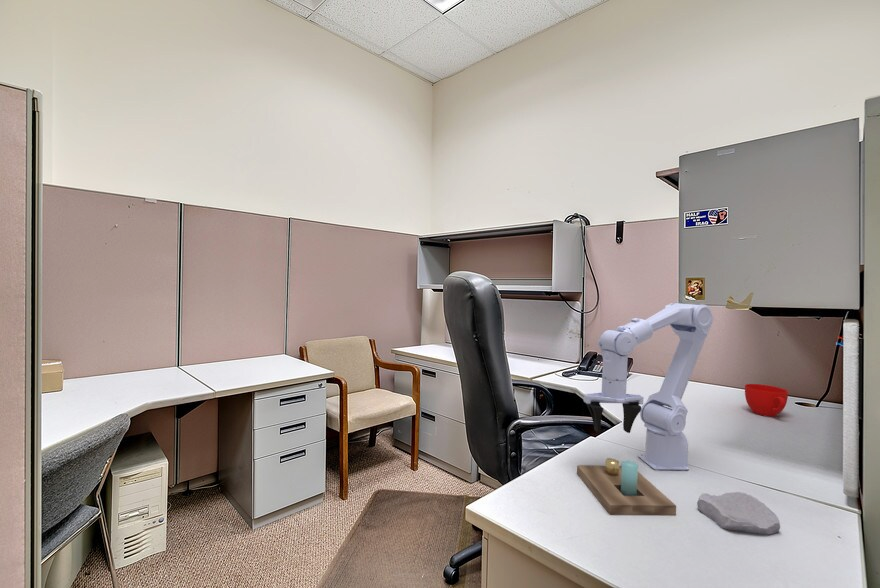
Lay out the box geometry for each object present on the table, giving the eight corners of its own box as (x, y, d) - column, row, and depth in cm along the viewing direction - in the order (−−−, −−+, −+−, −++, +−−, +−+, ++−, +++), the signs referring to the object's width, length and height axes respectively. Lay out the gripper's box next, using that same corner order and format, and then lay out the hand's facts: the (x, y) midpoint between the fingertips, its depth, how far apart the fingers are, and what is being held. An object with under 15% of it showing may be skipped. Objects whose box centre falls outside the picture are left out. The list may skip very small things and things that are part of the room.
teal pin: (631, 495, 91) (633, 460, 91) (639, 503, 88) (640, 467, 88) (617, 495, 91) (619, 460, 91) (624, 503, 88) (626, 467, 88)
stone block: (785, 543, 79) (744, 505, 88) (790, 522, 78) (748, 486, 87) (727, 546, 78) (692, 508, 88) (732, 525, 77) (696, 489, 86)
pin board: (631, 473, 102) (632, 454, 102) (675, 515, 84) (677, 491, 84) (576, 473, 101) (577, 453, 101) (609, 514, 83) (610, 490, 83)
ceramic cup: (762, 421, 146) (763, 394, 146) (736, 407, 162) (737, 382, 162) (802, 424, 144) (804, 397, 143) (772, 410, 160) (774, 385, 160)
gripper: (592, 381, 98) (590, 436, 98) (651, 382, 98) (648, 437, 99) (581, 374, 105) (579, 426, 105) (636, 375, 105) (633, 427, 106)
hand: (611, 431), depth 102 cm, fingers open, 7 cm apart
